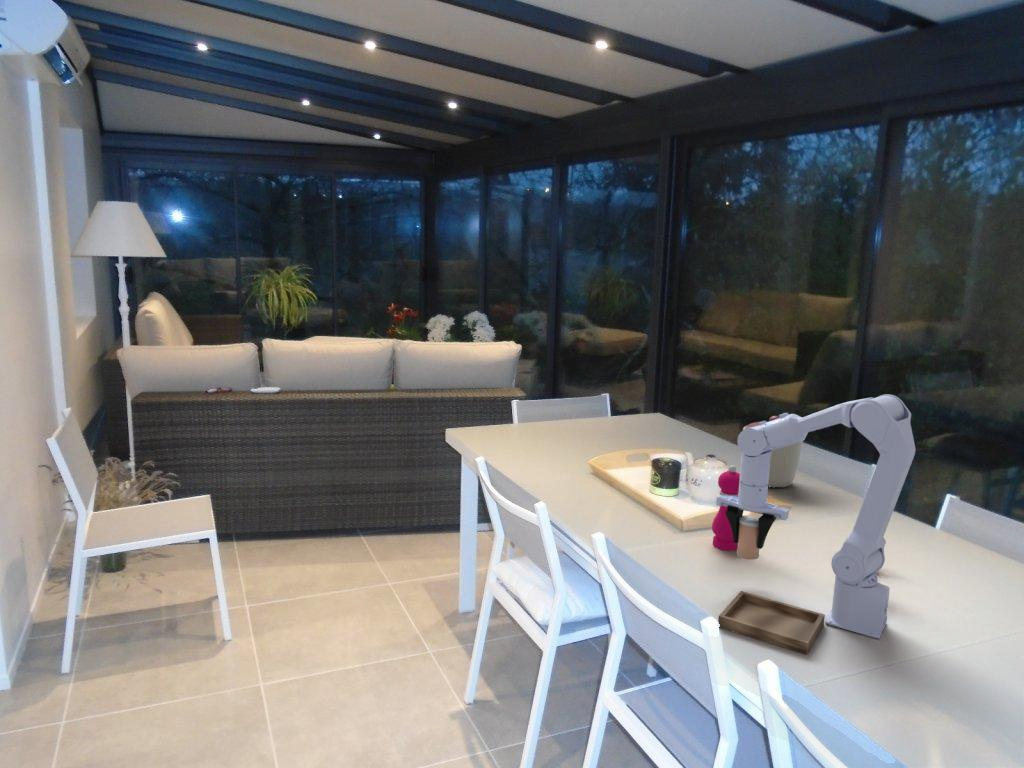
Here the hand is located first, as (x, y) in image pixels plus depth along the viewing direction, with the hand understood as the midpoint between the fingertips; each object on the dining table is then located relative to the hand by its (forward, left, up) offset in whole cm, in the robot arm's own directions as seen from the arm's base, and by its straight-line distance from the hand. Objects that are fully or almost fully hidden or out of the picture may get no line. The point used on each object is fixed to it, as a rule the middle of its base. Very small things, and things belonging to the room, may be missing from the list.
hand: (748, 544), depth 156 cm
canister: (+16, -74, -9) cm, 76 cm away
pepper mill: (+10, -17, -9) cm, 22 cm away
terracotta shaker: (0, 0, -2) cm, 2 cm away
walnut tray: (-10, +16, -8) cm, 21 cm away
